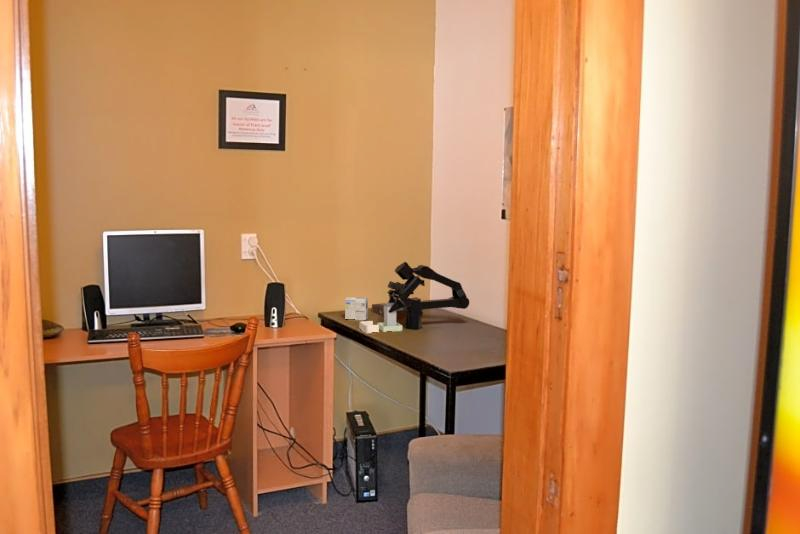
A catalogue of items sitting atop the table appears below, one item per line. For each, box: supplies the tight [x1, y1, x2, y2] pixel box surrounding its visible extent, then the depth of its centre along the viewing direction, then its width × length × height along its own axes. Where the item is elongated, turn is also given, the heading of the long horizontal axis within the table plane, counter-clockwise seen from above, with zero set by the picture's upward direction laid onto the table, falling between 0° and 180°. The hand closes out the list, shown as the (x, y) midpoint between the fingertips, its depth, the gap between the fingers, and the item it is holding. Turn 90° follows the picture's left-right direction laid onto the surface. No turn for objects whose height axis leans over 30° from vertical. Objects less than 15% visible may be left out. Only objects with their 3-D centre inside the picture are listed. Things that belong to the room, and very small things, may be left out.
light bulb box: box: [344, 296, 369, 321], centre depth 355 cm, size 11×7×11 cm, turn 84°
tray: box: [376, 321, 403, 333], centre depth 331 cm, size 9×9×2 cm
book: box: [371, 302, 408, 320], centre depth 368 cm, size 23×18×5 cm
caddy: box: [383, 302, 397, 326], centre depth 331 cm, size 4×5×10 cm
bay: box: [358, 320, 380, 334], centre depth 328 cm, size 6×10×4 cm, turn 20°
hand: (387, 311), depth 330 cm, fingers closed on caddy, 5 cm apart
